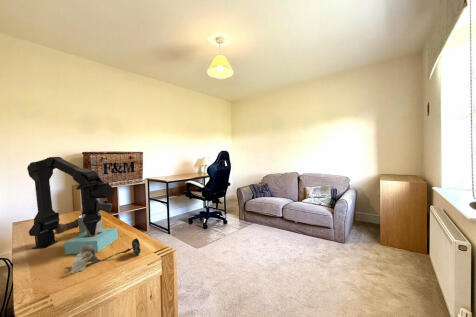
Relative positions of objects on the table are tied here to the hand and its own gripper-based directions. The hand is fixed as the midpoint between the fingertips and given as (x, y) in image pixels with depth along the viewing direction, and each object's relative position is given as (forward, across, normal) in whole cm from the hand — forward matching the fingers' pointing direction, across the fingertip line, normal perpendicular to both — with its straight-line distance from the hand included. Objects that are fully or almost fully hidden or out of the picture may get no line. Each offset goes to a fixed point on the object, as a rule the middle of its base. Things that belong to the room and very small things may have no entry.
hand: (92, 232), depth 92 cm
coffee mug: (+6, +22, 0) cm, 23 cm away
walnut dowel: (+6, 0, 0) cm, 6 cm away
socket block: (+6, 0, 0) cm, 6 cm away
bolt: (+6, +41, +7) cm, 42 cm away
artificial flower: (+6, -22, -2) cm, 23 cm away
